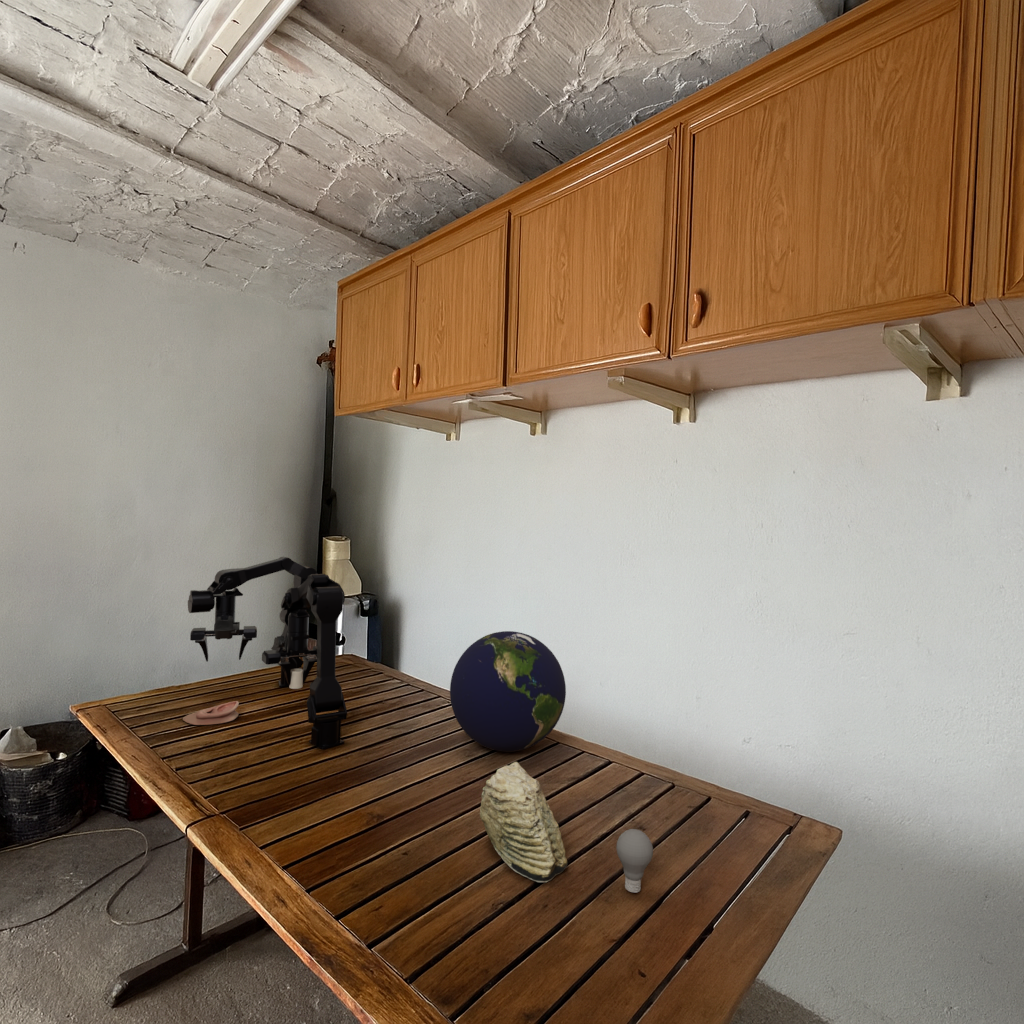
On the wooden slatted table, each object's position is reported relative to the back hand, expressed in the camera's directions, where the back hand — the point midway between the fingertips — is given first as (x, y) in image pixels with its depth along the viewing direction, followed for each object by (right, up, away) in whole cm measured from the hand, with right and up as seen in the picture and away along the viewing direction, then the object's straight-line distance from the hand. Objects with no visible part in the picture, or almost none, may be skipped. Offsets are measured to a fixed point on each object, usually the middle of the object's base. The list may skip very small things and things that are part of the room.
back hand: (223, 660), depth 197 cm
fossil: (+91, -16, -83) cm, 124 cm away
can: (+26, -5, -11) cm, 29 cm away
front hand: (+27, -4, -11) cm, 29 cm away
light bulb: (+110, -17, -92) cm, 144 cm away
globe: (+88, -15, -33) cm, 96 cm away
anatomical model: (+6, -11, -22) cm, 25 cm away
